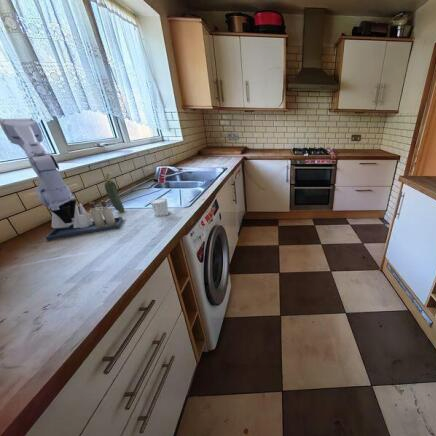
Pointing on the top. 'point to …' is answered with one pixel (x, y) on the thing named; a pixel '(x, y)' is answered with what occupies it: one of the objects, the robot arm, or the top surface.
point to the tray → (81, 230)
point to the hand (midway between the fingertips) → (70, 220)
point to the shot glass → (160, 207)
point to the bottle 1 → (97, 216)
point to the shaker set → (79, 219)
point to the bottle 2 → (108, 214)
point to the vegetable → (113, 193)
